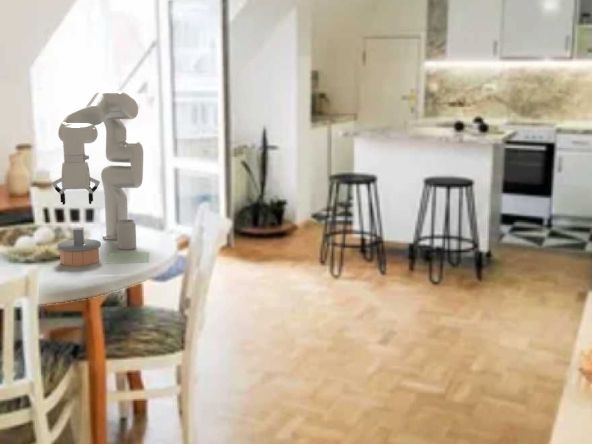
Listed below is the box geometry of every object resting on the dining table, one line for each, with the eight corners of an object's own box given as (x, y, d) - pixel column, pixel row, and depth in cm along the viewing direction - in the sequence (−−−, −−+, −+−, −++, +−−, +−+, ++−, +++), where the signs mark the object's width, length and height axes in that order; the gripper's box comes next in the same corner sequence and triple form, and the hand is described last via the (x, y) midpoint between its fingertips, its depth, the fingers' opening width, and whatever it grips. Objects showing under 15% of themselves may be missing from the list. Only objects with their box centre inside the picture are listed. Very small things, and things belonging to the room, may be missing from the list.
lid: (60, 242, 286) (59, 224, 284) (102, 241, 289) (101, 223, 287) (54, 252, 270) (53, 234, 269) (99, 250, 273) (98, 232, 272)
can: (131, 251, 297) (130, 222, 294) (114, 250, 298) (113, 221, 296) (139, 247, 304) (138, 219, 302) (122, 246, 306) (121, 218, 303)
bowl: (63, 257, 286) (62, 242, 285) (100, 256, 289) (99, 241, 288) (58, 267, 273) (57, 251, 272) (97, 265, 275) (96, 250, 274)
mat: (108, 254, 292) (108, 253, 292) (149, 252, 295) (149, 251, 295) (105, 264, 277) (105, 263, 277) (148, 263, 280) (148, 262, 280)
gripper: (99, 157, 278) (101, 201, 282) (51, 158, 275) (54, 202, 279) (97, 159, 271) (100, 205, 275) (49, 160, 268) (52, 206, 272)
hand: (77, 203), depth 277 cm, fingers open, 9 cm apart
